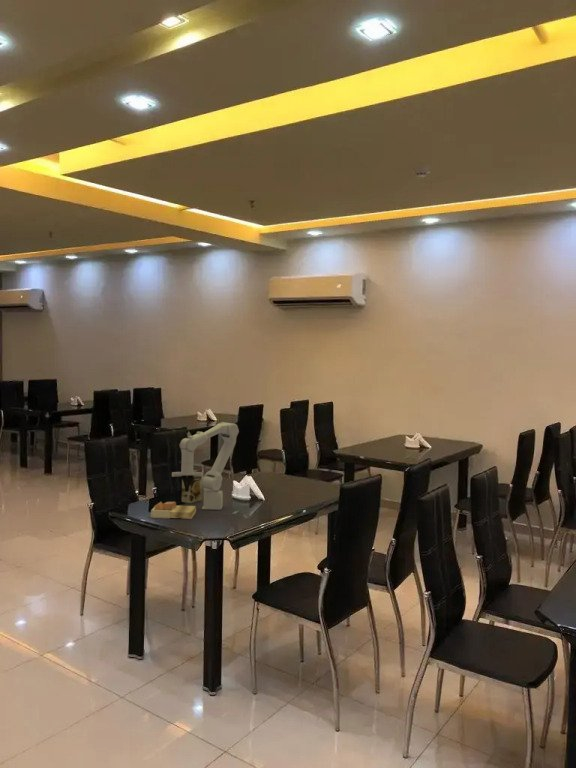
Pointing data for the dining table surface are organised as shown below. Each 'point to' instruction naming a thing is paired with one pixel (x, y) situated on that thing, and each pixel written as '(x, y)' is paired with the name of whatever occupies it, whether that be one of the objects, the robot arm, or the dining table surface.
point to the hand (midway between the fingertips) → (186, 491)
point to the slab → (183, 512)
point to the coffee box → (192, 489)
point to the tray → (160, 513)
